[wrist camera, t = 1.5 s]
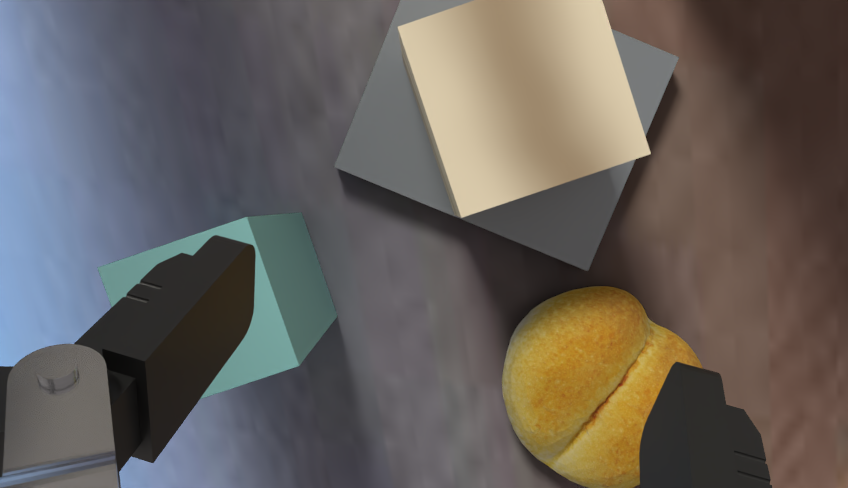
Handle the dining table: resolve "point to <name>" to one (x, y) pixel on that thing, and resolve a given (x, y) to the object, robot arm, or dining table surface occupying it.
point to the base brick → (520, 97)
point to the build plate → (516, 220)
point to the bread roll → (588, 383)
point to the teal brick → (255, 294)
